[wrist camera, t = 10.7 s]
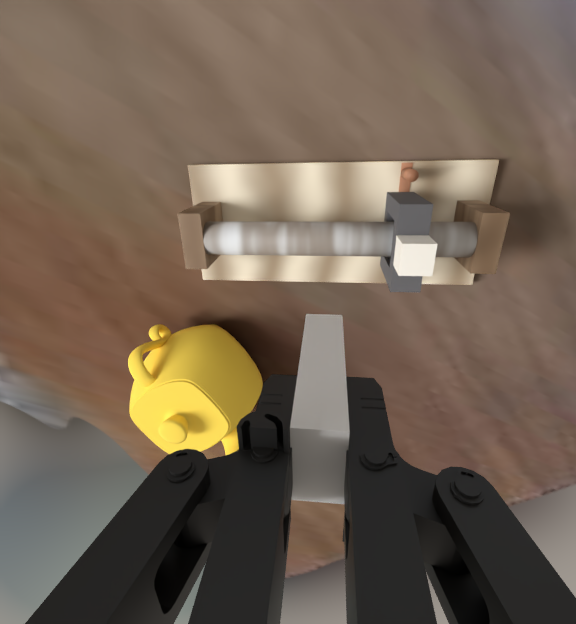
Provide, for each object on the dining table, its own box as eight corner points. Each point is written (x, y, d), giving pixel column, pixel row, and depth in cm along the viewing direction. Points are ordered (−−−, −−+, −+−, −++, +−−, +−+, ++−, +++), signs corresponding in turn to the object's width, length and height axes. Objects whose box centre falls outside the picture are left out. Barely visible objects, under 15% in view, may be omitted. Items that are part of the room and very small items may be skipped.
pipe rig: (205, 276, 41) (181, 303, 34) (191, 164, 36) (158, 170, 29) (468, 281, 38) (498, 312, 31) (494, 159, 33) (537, 164, 26)
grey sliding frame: (379, 265, 36) (395, 304, 27) (386, 192, 33) (406, 210, 24) (404, 265, 35) (427, 305, 27) (413, 191, 32) (443, 210, 24)
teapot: (208, 283, 42) (161, 337, 30) (303, 401, 48) (294, 484, 36) (129, 336, 46) (63, 401, 35) (225, 438, 52) (196, 521, 41)
